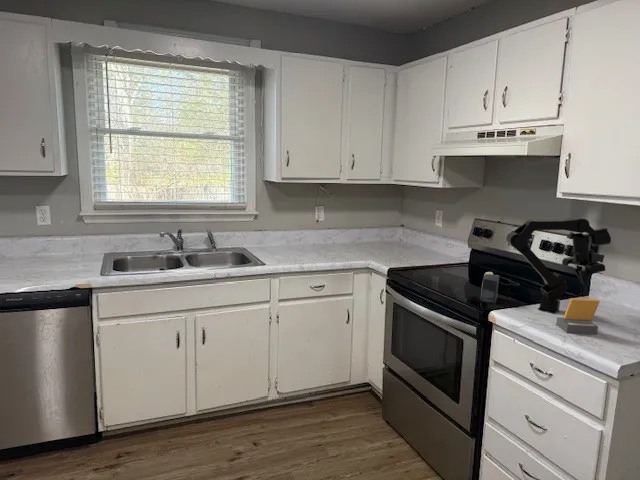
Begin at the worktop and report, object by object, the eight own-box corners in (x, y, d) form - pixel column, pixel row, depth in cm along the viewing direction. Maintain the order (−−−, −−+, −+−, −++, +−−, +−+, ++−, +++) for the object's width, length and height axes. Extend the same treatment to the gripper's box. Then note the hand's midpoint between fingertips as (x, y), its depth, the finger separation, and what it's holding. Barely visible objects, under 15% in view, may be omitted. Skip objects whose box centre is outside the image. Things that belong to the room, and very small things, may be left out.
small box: (482, 295, 211) (484, 273, 209) (497, 297, 208) (500, 275, 206) (479, 301, 201) (482, 278, 199) (495, 303, 199) (498, 280, 197)
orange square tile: (562, 318, 172) (570, 297, 167) (590, 320, 172) (598, 299, 167) (563, 320, 171) (571, 299, 166) (591, 322, 171) (600, 301, 166)
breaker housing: (556, 324, 176) (557, 316, 175) (584, 326, 176) (586, 318, 175) (566, 332, 168) (567, 324, 167) (596, 334, 168) (598, 326, 167)
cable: (512, 279, 245) (513, 273, 245) (521, 287, 229) (522, 281, 229) (482, 276, 247) (483, 270, 247) (489, 285, 231) (489, 278, 231)
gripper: (616, 247, 179) (619, 286, 181) (584, 241, 197) (587, 276, 200) (590, 252, 178) (593, 291, 180) (559, 246, 196) (563, 281, 199)
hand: (584, 284), depth 190 cm, fingers closed
